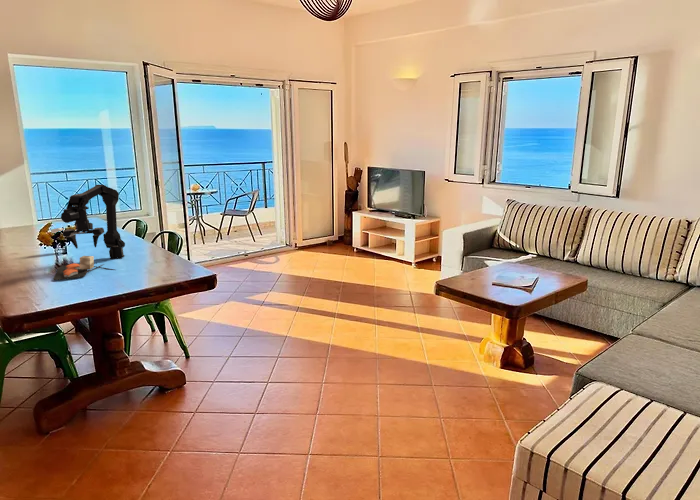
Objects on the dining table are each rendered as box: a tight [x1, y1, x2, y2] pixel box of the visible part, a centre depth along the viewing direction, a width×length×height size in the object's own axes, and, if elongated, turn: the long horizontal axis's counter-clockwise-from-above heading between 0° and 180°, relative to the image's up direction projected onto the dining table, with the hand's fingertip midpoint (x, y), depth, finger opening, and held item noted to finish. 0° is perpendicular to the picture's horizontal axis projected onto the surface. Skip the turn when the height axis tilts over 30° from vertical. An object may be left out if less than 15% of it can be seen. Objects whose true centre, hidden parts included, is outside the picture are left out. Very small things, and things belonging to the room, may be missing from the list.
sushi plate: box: [52, 262, 116, 281], centre depth 254 cm, size 29×30×4 cm
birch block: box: [79, 255, 95, 270], centre depth 253 cm, size 5×5×6 cm
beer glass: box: [50, 227, 65, 234], centre depth 291 cm, size 7×7×15 cm
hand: (86, 247), depth 255 cm, fingers open, 9 cm apart
